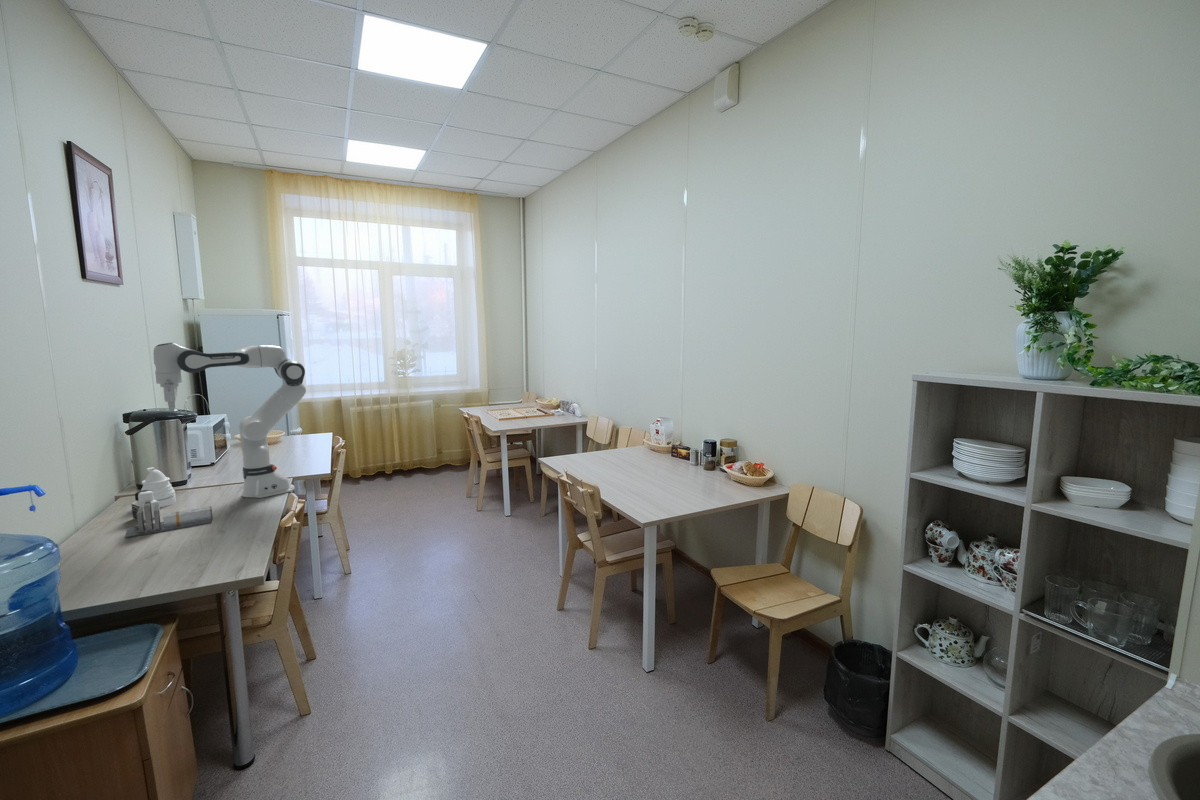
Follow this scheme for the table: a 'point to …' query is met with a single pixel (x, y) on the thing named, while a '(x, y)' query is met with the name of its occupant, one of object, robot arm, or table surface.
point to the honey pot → (159, 487)
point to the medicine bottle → (143, 502)
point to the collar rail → (156, 526)
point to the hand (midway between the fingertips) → (172, 409)
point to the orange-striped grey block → (187, 516)
